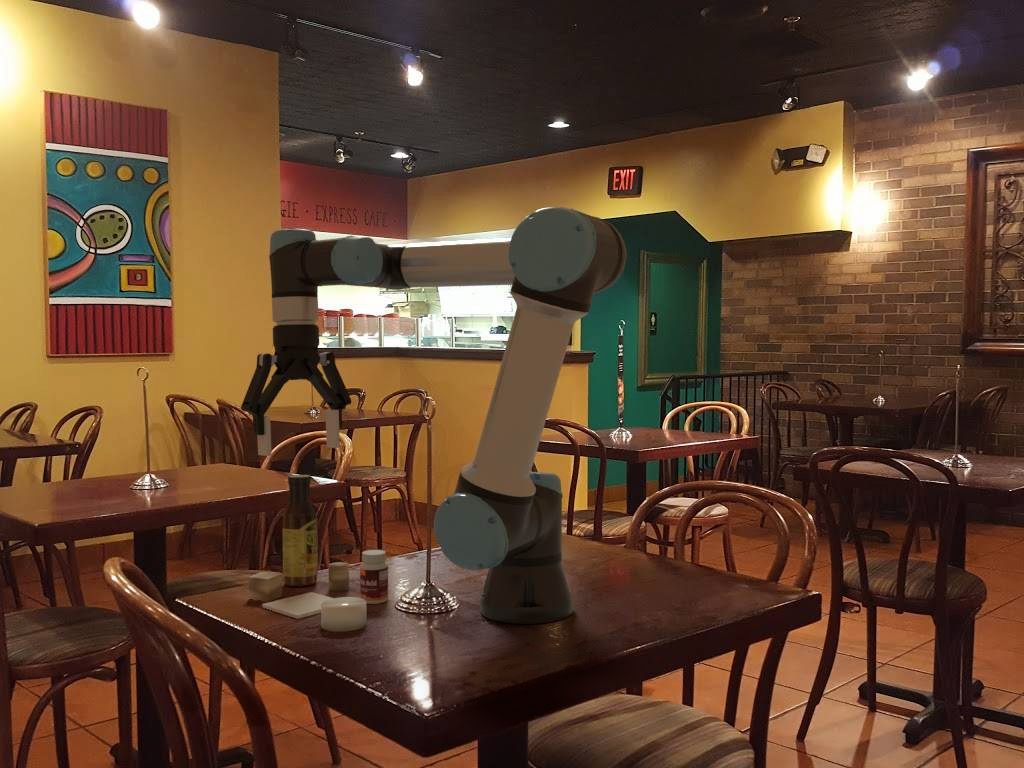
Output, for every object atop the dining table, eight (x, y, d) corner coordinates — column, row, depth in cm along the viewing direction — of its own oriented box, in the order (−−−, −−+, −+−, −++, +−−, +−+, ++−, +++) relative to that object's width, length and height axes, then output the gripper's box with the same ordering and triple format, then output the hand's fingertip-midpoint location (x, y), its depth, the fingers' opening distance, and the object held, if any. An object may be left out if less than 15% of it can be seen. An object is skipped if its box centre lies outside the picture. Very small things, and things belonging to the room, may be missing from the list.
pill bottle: (354, 602, 160) (354, 553, 160) (371, 595, 164) (370, 548, 164) (377, 605, 158) (376, 556, 158) (393, 599, 162) (393, 550, 162)
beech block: (282, 596, 165) (281, 573, 165) (268, 602, 161) (267, 579, 161) (263, 594, 166) (262, 571, 166) (248, 600, 163) (248, 577, 162)
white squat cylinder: (376, 624, 148) (375, 602, 148) (340, 635, 143) (340, 612, 143) (347, 616, 153) (346, 594, 152) (312, 626, 147) (311, 604, 147)
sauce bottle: (313, 588, 170) (311, 478, 169) (279, 588, 170) (277, 478, 169) (321, 579, 176) (320, 473, 175) (288, 579, 176) (286, 473, 176)
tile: (347, 605, 158) (347, 602, 158) (297, 618, 151) (297, 615, 151) (311, 595, 165) (311, 591, 165) (262, 607, 157) (262, 604, 157)
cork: (353, 588, 169) (352, 564, 169) (337, 592, 167) (336, 567, 167) (340, 585, 172) (340, 561, 172) (324, 589, 169) (324, 564, 169)
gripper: (342, 325, 168) (346, 443, 169) (215, 324, 150) (220, 457, 151) (369, 323, 163) (372, 445, 164) (241, 322, 145) (246, 460, 146)
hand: (300, 451), depth 157 cm, fingers open, 13 cm apart
